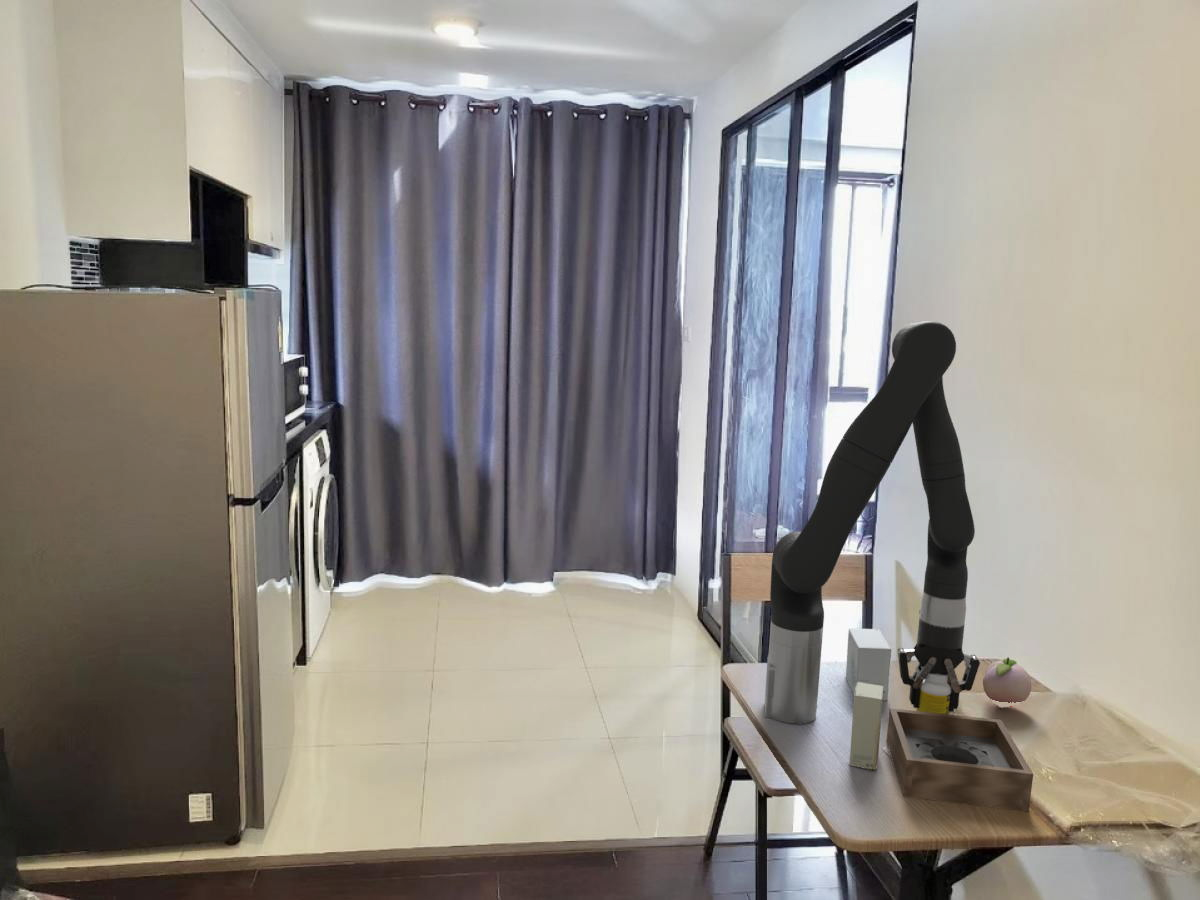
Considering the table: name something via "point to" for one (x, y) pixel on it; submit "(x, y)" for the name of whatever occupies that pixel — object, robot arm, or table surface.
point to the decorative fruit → (1006, 682)
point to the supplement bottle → (934, 694)
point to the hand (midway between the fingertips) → (933, 707)
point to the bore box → (958, 760)
